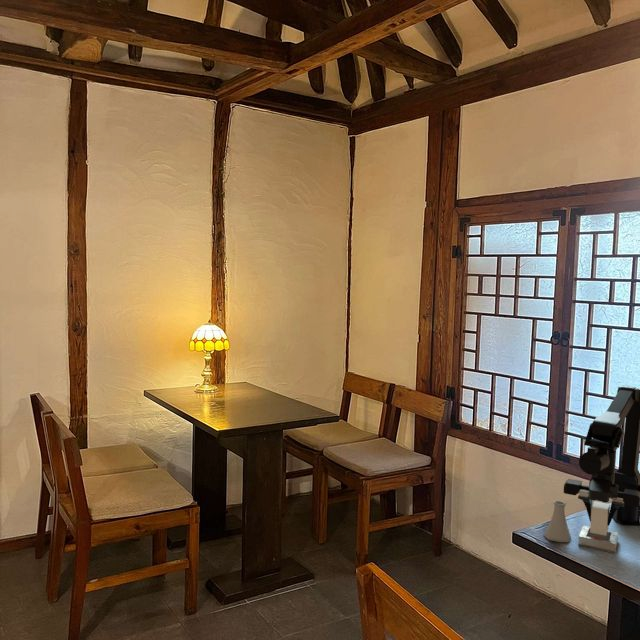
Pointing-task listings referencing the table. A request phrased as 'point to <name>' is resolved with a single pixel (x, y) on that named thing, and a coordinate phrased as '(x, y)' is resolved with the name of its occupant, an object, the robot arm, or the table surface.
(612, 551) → the socket
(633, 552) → the table surface
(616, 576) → the table surface
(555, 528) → the flask
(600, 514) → the plug
